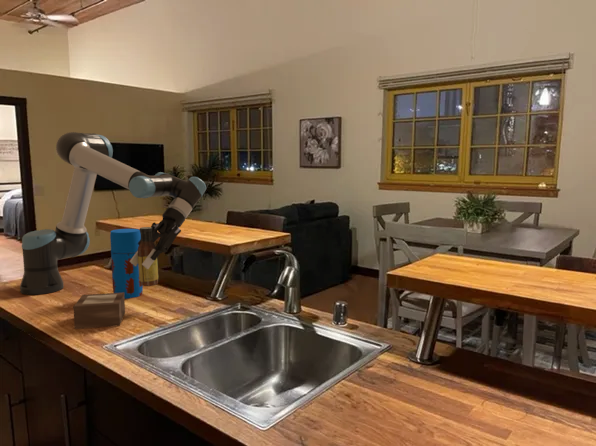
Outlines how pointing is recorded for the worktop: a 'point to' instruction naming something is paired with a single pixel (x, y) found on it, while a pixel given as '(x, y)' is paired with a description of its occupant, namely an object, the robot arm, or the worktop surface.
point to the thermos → (125, 262)
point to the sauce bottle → (146, 246)
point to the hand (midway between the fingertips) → (138, 265)
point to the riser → (99, 310)
